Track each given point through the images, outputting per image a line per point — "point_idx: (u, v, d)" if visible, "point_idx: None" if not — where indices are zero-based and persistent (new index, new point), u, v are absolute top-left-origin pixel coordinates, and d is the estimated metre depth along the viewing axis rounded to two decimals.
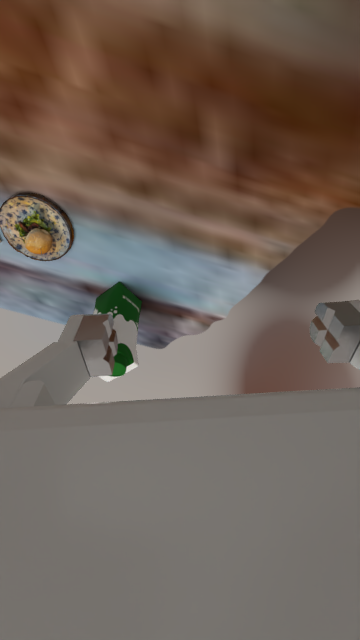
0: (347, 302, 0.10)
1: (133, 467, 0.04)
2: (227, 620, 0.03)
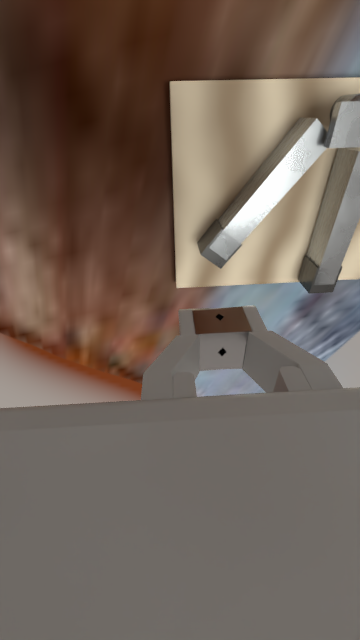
0: (240, 307, 0.10)
1: (133, 467, 0.04)
2: (227, 619, 0.03)
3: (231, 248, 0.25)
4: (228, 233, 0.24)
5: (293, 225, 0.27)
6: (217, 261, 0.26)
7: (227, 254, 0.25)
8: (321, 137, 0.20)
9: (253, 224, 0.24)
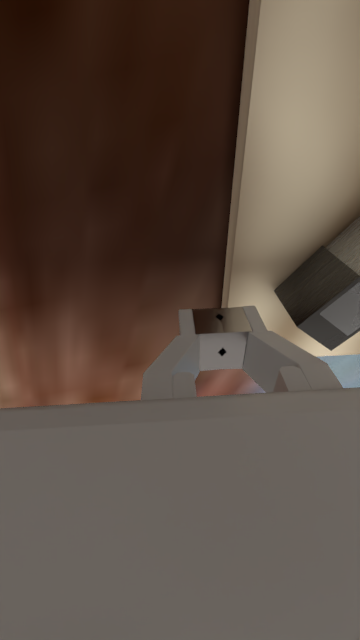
0: (240, 307, 0.10)
1: (133, 467, 0.04)
2: (227, 618, 0.03)
3: None
4: None
5: None
6: (328, 338, 0.12)
7: (355, 325, 0.12)
8: None
9: None
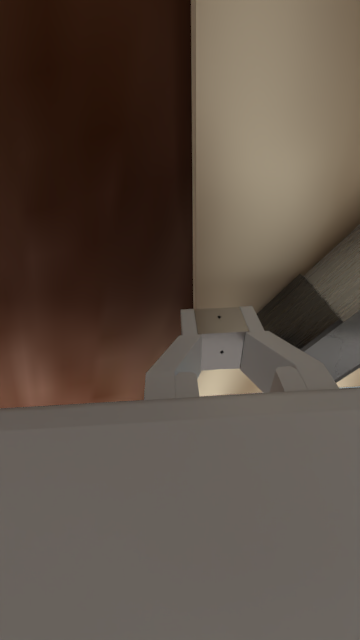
0: (238, 307, 0.10)
1: (133, 467, 0.04)
2: (227, 620, 0.03)
3: (351, 360, 0.09)
4: (355, 328, 0.08)
5: None
6: None
7: (338, 371, 0.10)
8: None
9: None
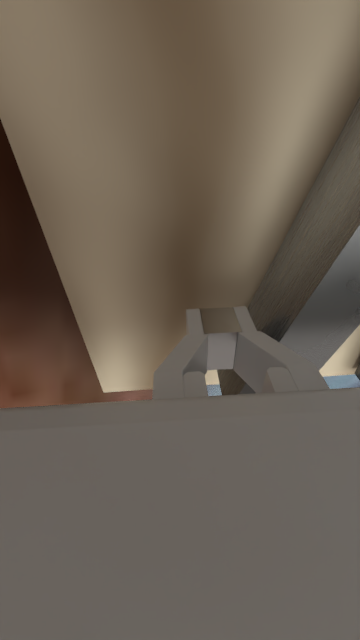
0: (231, 308, 0.10)
1: (133, 467, 0.04)
2: (227, 619, 0.03)
3: None
4: None
5: None
6: None
7: None
8: None
9: (337, 337, 0.09)
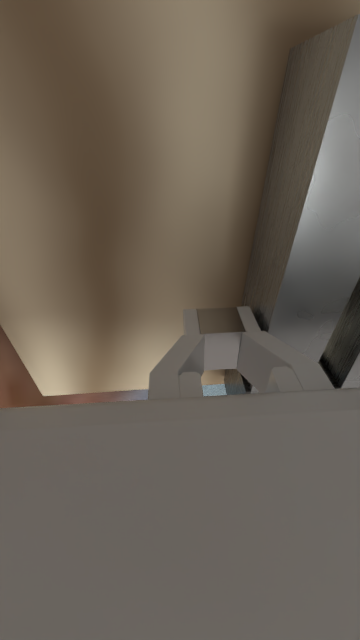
0: (235, 307, 0.10)
1: (133, 467, 0.04)
2: (227, 618, 0.03)
3: None
4: None
5: None
6: None
7: None
8: None
9: (311, 355, 0.09)
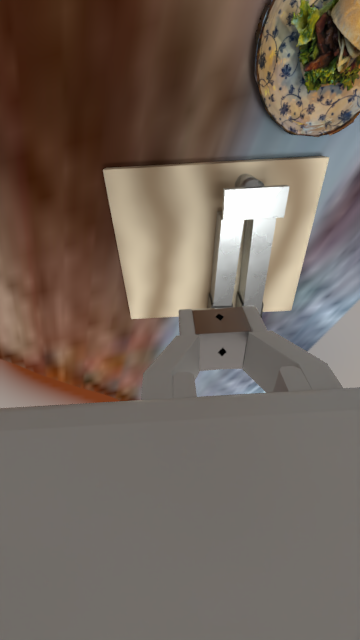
0: (240, 307, 0.10)
1: (133, 467, 0.04)
2: (226, 620, 0.03)
3: None
4: (218, 305, 0.32)
5: None
6: None
7: None
8: (234, 224, 0.26)
9: (230, 291, 0.30)
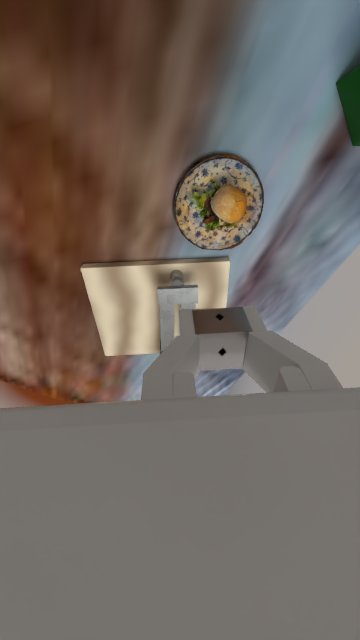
0: (241, 307, 0.10)
1: (133, 467, 0.04)
2: (227, 619, 0.03)
3: None
4: None
5: None
6: None
7: None
8: None
9: None
